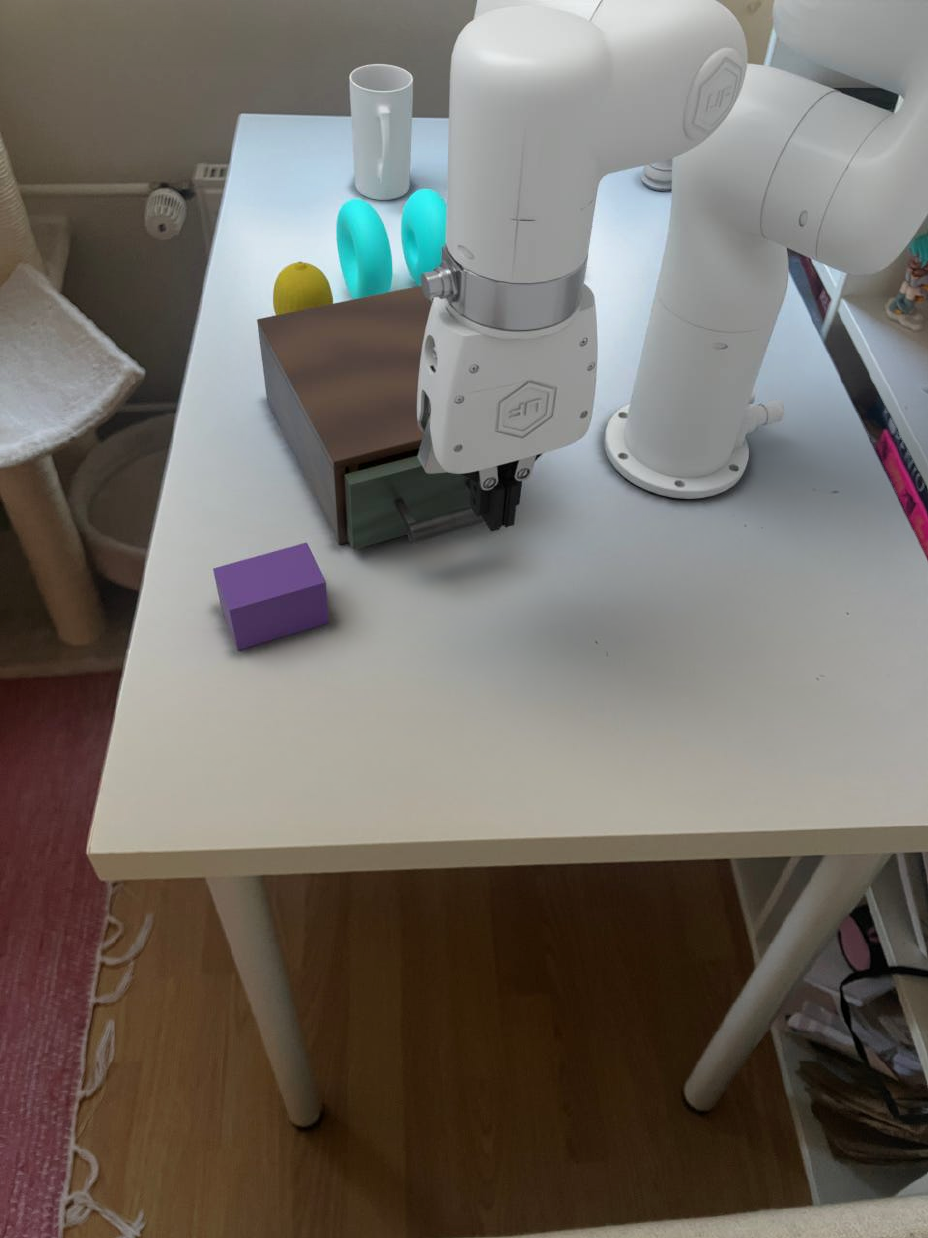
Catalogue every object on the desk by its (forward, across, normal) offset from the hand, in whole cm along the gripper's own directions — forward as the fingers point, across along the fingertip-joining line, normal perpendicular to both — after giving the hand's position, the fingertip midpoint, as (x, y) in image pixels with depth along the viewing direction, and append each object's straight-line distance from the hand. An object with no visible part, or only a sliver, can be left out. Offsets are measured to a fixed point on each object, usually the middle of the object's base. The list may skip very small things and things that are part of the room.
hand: (493, 514), depth 68 cm
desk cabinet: (+10, -1, +20) cm, 22 cm away
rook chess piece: (+12, +47, +53) cm, 71 cm away
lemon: (+11, -2, +37) cm, 39 cm away
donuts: (+11, +9, +41) cm, 44 cm away
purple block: (+10, -15, +5) cm, 19 cm away
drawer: (+9, -1, +15) cm, 18 cm away
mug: (+11, +15, +60) cm, 63 cm away
